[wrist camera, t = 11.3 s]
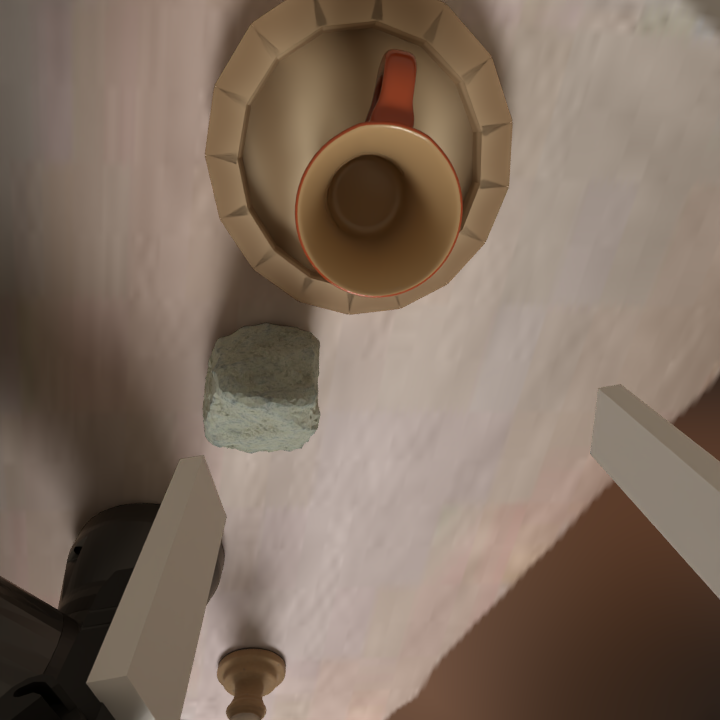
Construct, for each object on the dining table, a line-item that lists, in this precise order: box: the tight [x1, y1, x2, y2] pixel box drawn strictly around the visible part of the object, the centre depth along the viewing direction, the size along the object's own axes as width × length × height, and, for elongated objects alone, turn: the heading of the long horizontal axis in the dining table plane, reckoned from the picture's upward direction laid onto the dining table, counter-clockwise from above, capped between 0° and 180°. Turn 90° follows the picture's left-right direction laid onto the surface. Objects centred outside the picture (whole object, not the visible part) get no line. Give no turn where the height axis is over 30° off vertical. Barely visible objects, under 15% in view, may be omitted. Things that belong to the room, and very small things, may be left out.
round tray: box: [205, 0, 513, 315], centre depth 31 cm, size 20×20×3 cm
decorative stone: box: [203, 323, 320, 453], centre depth 37 cm, size 13×11×10 cm
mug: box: [295, 49, 463, 298], centre depth 27 cm, size 12×9×10 cm
